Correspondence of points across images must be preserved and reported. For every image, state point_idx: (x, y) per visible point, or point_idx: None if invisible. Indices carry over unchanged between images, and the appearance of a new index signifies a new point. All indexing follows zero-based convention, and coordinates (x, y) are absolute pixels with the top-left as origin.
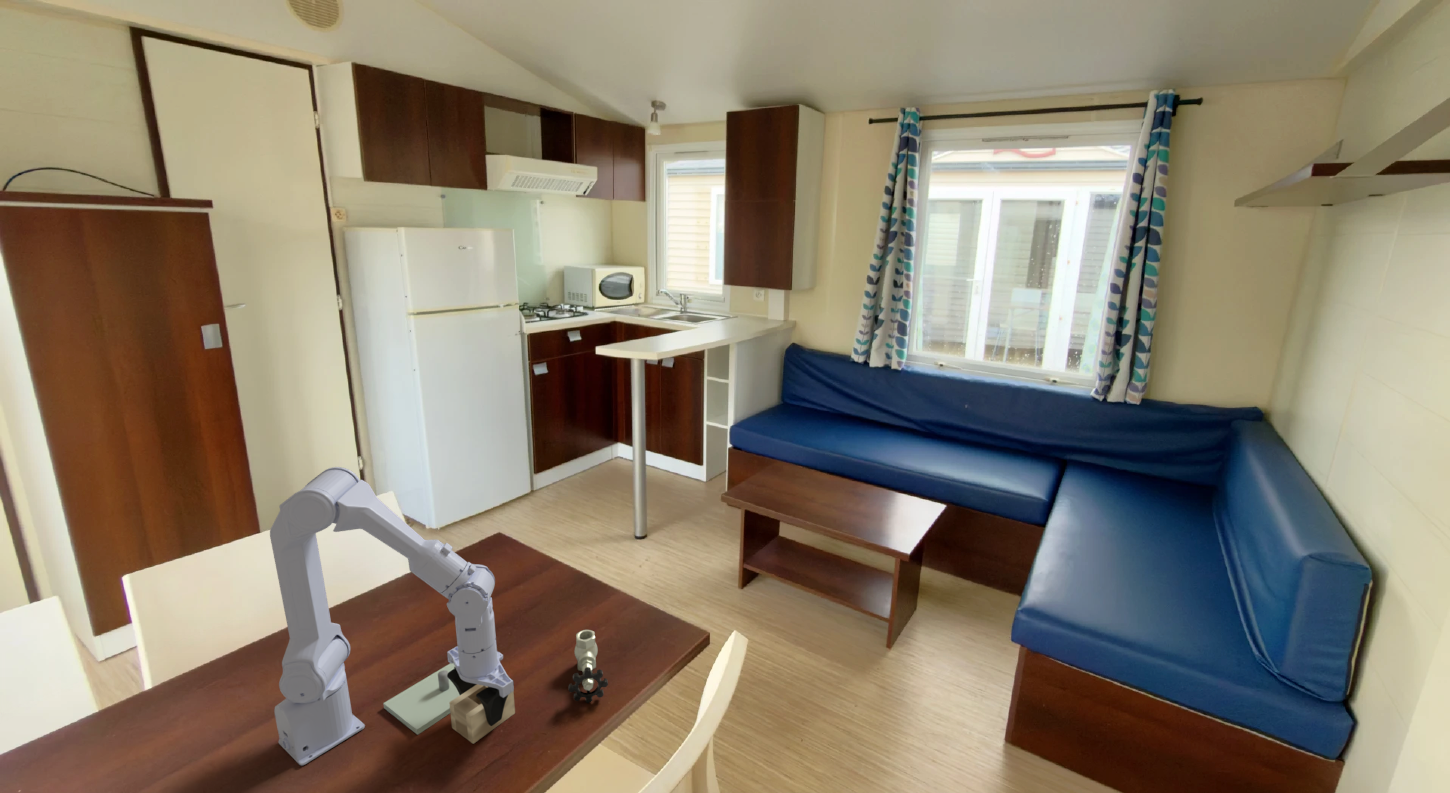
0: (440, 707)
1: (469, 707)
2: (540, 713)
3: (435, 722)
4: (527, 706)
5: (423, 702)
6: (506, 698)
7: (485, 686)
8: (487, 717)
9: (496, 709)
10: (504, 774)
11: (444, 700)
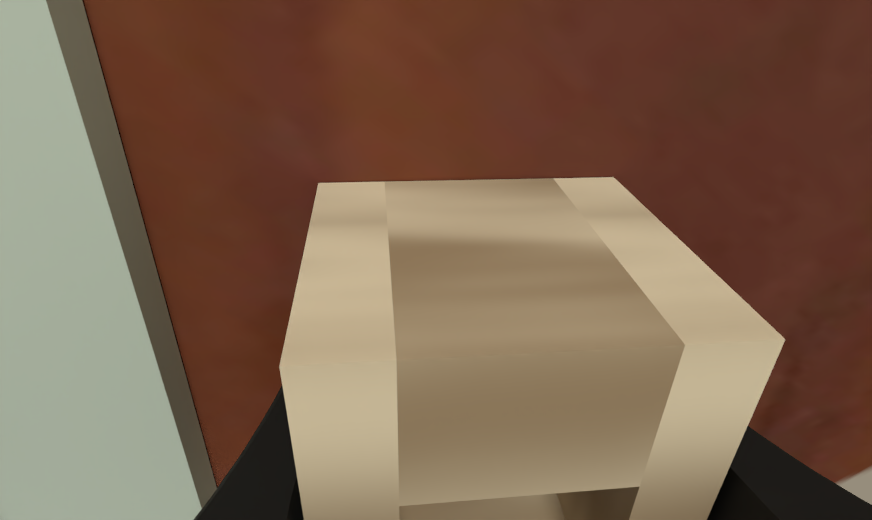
0: (135, 502)
1: None
2: (825, 43)
3: None
4: (658, 55)
5: None
6: (842, 494)
7: (424, 499)
8: None
9: None
10: (845, 455)
11: (71, 463)
